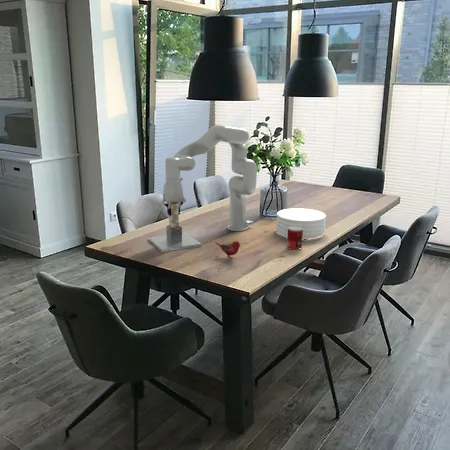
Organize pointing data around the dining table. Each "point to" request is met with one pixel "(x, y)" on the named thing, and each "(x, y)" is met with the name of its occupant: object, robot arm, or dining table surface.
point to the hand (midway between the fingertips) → (173, 214)
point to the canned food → (295, 237)
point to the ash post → (174, 215)
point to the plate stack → (301, 222)
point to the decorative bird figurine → (230, 248)
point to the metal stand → (174, 240)
